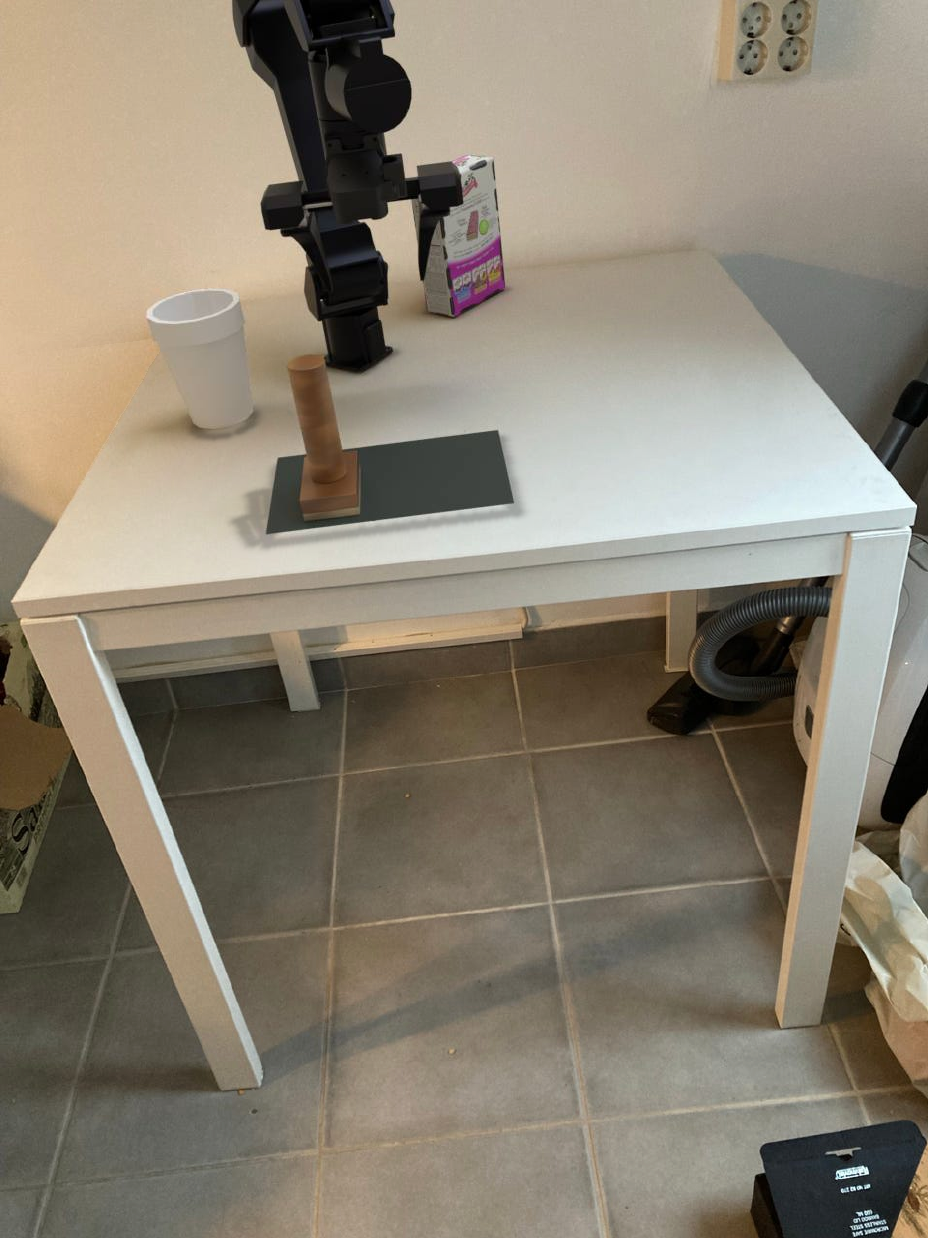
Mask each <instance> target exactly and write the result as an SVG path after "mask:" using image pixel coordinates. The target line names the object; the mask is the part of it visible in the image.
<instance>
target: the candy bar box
mask: <svg viewBox="0 0 928 1238" xmlns="http://www.w3.org/2000/svg"><path fill="white" fill-rule="evenodd" d="M451 161H452V162H453V163H454V164H455V165H456V166H457V167H458V170H459V173H460V177H461V183H462V192H463V203H464V204H462V205H460V206H457V207H450V215H449V216H446V217H441V218H440V220H439V222H438V224H437V226H436V229H435V232H434V235H433V238H432V242H431V246H430V252H429V257H428V263H427V268H426V274H425V279H424V281H422V285H423V291H424V299H425V307H426V311H427V313H429V314H433V315H439V316H443V317H444V316H445V317H451V318H456V317H458V316H460V315H461V314H463V313H465V312H467V311H469V310H470V309H472V308H474V307H475V306H477V305H479V304H481V303H483V302H484V301H486V300H487V299H489V298H491V297H493V296H495V295H496V294H497V293H498V294H499V293H500V292H501V291H503V290H504V289H506V279H505V269H504V268H505V267H504V258H503V248H502V235H501V226H500V214H499V203H498V202H499V201H498V193H497V192H498V191H497V182H496V172H495V171H496V170H495V158H494V157H493V156H482V155H472V154H466V155H463V156H461V157H458V158H456V159H454V160H451ZM416 177H418V175H417V176H416ZM410 201H411V208H412V214H413V221H414V228H415V235H416V241H417V243H418V199H410Z"/></svg>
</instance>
